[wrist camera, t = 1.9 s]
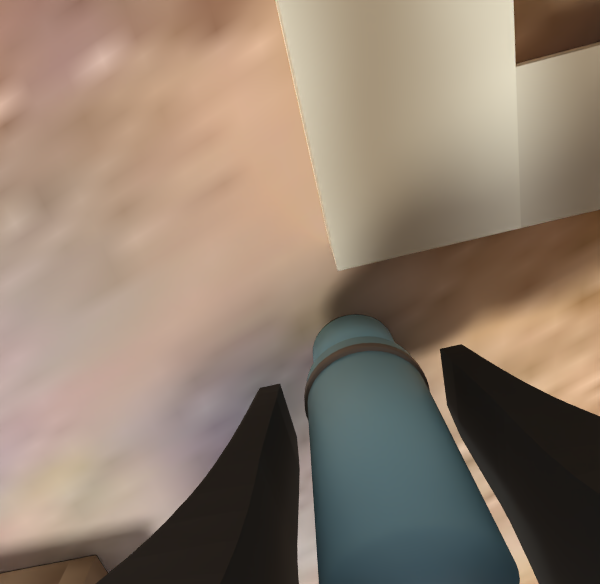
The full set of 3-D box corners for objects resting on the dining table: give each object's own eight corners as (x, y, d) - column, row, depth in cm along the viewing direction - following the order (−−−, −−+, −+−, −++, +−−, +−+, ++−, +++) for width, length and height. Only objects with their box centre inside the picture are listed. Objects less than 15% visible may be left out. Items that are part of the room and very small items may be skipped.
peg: (397, 293, 14) (521, 503, 6) (411, 381, 15) (527, 638, 8) (290, 317, 14) (293, 547, 7) (314, 402, 15) (338, 669, 8)
